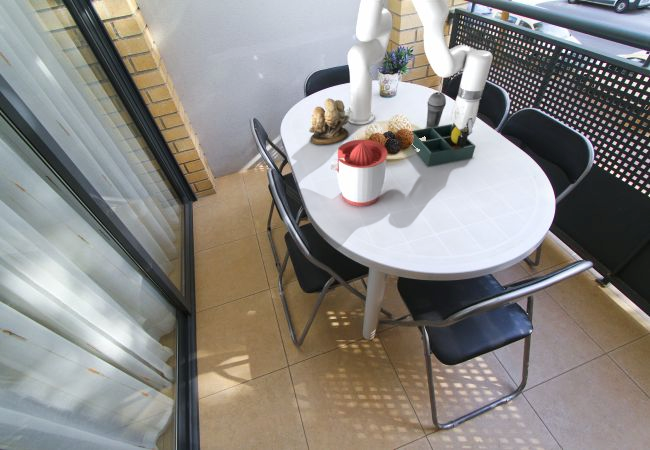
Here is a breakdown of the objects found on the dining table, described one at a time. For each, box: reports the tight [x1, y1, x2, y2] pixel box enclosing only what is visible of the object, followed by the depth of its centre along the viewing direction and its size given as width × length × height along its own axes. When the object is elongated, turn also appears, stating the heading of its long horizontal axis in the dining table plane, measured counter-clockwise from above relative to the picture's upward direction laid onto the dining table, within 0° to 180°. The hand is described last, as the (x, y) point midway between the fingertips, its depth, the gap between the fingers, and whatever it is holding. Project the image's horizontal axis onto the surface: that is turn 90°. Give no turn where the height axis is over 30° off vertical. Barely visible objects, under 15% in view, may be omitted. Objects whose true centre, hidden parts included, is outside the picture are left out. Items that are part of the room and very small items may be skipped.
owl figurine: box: [308, 98, 349, 146], centre depth 131 cm, size 18×12×17 cm, turn 116°
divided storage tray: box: [410, 123, 476, 167], centre depth 122 cm, size 18×18×5 cm
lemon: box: [451, 126, 467, 144], centre depth 116 cm, size 6×6×8 cm
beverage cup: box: [426, 82, 447, 128], centre depth 129 cm, size 7×7×20 cm
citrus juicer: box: [330, 139, 389, 207], centre depth 101 cm, size 16×17×20 cm
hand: (457, 140), depth 118 cm, fingers closed on lemon, 5 cm apart
